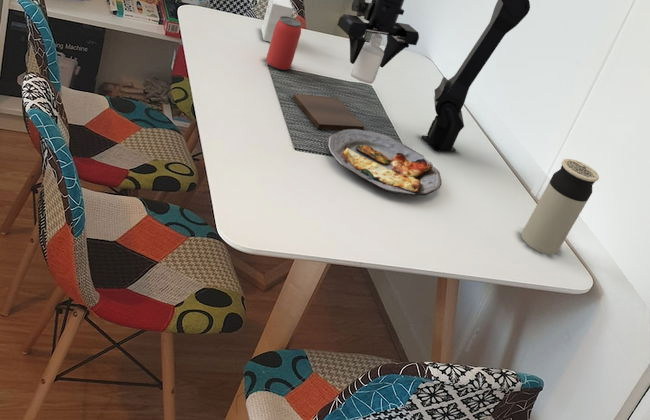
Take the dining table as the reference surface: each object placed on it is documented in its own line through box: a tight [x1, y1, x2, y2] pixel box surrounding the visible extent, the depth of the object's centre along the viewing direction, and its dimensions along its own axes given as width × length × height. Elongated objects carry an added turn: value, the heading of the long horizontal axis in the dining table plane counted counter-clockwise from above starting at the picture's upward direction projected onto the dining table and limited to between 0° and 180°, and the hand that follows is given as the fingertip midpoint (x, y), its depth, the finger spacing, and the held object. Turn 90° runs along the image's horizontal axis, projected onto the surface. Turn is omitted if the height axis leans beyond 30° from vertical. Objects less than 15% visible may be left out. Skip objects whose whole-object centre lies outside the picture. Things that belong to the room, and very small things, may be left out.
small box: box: [260, 0, 294, 43], centre depth 200 cm, size 8×6×10 cm
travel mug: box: [520, 158, 600, 255], centre depth 145 cm, size 8×8×18 cm
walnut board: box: [292, 93, 365, 131], centre depth 171 cm, size 14×12×1 cm
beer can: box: [265, 16, 302, 71], centre depth 184 cm, size 7×7×12 cm
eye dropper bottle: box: [350, 33, 384, 85], centre depth 166 cm, size 4×6×12 cm
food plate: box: [327, 129, 443, 197], centre depth 155 cm, size 25×23×4 cm
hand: (366, 64), depth 168 cm, fingers closed on eye dropper bottle, 8 cm apart
